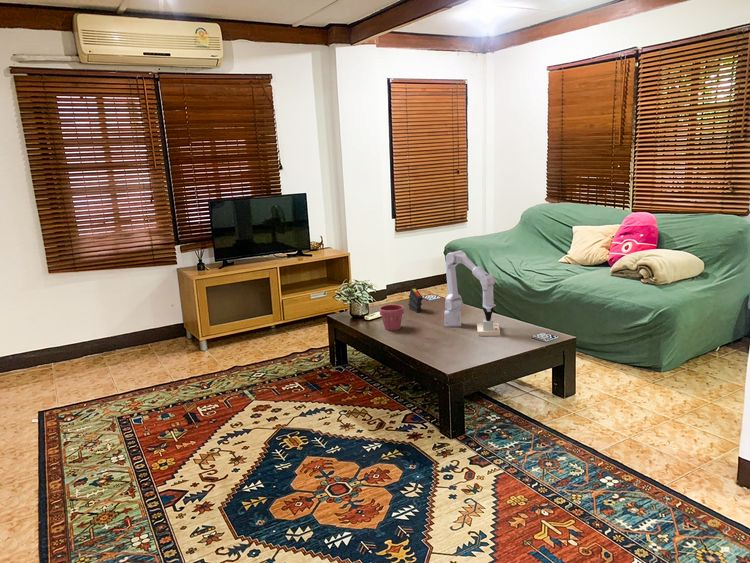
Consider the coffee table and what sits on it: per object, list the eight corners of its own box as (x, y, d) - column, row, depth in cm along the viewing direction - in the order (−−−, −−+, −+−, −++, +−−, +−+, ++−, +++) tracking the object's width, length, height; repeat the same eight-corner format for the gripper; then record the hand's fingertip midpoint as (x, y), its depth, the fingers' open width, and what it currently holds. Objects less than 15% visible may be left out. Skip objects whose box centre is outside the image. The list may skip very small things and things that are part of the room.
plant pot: (384, 324, 342) (382, 303, 339) (406, 324, 338) (405, 304, 335) (377, 331, 329) (376, 310, 326) (401, 332, 325) (400, 311, 322)
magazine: (411, 304, 375) (415, 286, 367) (420, 317, 366) (424, 299, 357) (406, 305, 374) (410, 287, 365) (415, 318, 365) (419, 299, 356)
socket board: (477, 335, 312) (477, 330, 311) (477, 327, 326) (476, 322, 326) (499, 335, 310) (499, 330, 309) (498, 327, 324) (498, 322, 324)
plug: (483, 333, 313) (483, 321, 311) (483, 331, 317) (482, 319, 316) (493, 333, 312) (493, 321, 310) (493, 331, 316) (493, 319, 315)
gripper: (496, 300, 302) (496, 324, 305) (494, 293, 316) (495, 316, 319) (482, 300, 303) (483, 324, 306) (482, 293, 317) (482, 317, 320)
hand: (488, 320), depth 313 cm, fingers closed, pressing on plug
